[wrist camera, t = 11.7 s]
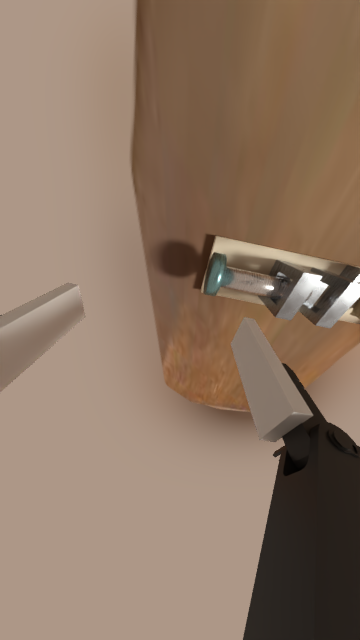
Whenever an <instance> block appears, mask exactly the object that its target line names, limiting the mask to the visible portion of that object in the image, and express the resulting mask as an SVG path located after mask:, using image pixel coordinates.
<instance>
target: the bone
mask: <svg viewBox="0 0 360 640" xmlns="http://www.w3.org/2000/svg"><path fill="white" fill-rule="evenodd" d="M350 315H352V316H356V317H357V318H359V319H360V299H359V301H358V303H357V304H356V306H355V307H354V308H353V310H352V312H351V313H350Z"/></svg>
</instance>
